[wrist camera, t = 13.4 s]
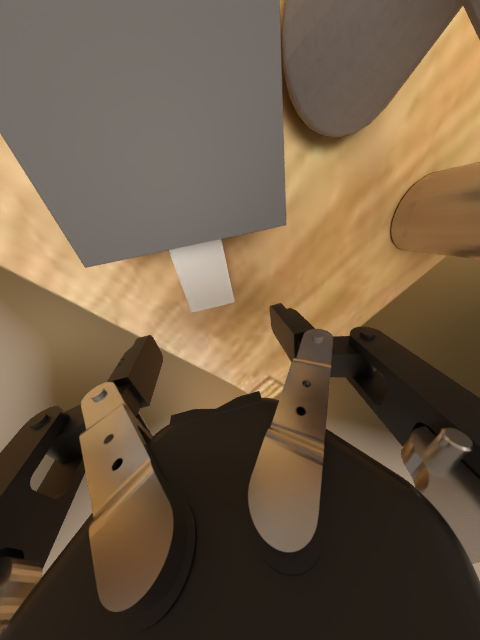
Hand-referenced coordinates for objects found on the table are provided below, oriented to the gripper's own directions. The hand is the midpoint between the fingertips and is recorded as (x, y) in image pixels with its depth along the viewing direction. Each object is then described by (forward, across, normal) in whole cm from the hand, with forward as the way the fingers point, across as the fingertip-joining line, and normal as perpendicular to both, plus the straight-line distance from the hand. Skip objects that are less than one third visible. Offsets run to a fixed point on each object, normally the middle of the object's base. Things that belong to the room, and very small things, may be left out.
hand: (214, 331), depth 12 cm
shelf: (+13, 0, -11) cm, 17 cm away
